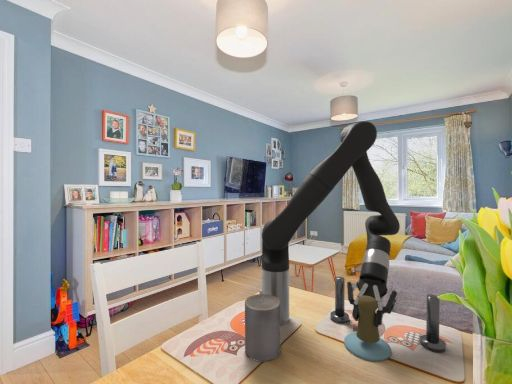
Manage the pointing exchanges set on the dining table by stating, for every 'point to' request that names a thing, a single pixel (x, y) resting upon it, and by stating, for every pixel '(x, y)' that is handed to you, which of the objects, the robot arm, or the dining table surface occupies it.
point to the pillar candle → (262, 327)
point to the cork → (367, 320)
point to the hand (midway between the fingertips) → (366, 322)
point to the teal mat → (367, 348)
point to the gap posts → (432, 319)
